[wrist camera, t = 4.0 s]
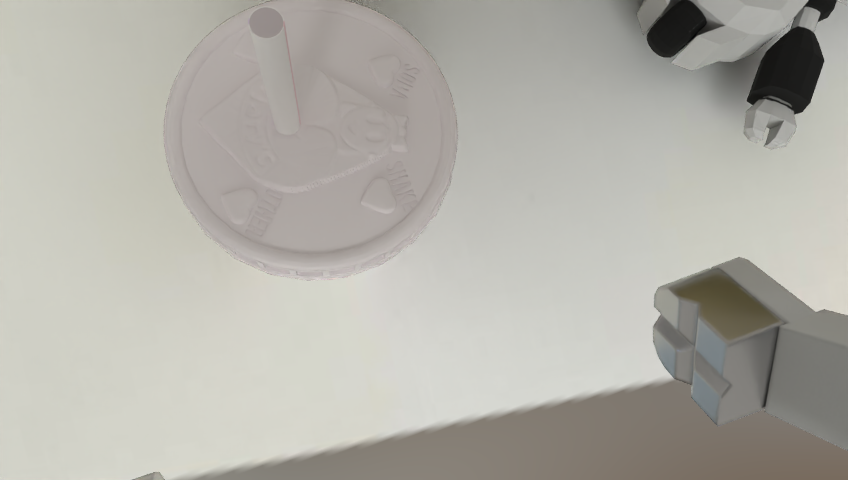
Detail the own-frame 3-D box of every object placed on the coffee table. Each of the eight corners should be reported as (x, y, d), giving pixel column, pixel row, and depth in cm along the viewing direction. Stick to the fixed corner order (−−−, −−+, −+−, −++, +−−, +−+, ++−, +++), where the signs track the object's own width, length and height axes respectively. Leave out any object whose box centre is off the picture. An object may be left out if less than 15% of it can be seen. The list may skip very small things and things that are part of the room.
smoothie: (238, 134, 25) (111, -173, 11) (419, 144, 26) (505, -134, 12) (223, 316, 24) (60, 217, 10) (415, 322, 24) (507, 236, 11)
